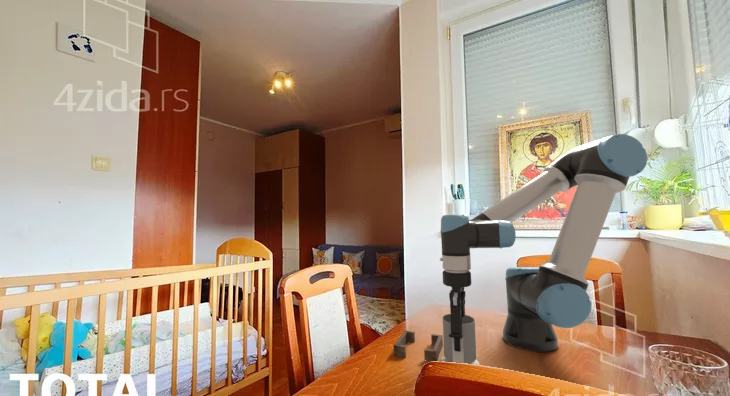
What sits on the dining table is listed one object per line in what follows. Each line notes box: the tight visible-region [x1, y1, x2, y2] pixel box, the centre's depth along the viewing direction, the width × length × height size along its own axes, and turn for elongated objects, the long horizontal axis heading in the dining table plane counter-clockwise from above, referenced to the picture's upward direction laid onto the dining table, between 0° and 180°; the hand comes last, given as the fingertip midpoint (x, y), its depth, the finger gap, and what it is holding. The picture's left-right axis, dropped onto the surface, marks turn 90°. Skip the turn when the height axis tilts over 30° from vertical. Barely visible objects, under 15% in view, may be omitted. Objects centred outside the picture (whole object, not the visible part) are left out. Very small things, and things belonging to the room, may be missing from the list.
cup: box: [442, 313, 477, 364], centre depth 81 cm, size 8×8×10 cm
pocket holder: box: [393, 330, 444, 363], centre depth 89 cm, size 12×12×3 cm
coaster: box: [440, 355, 481, 365], centre depth 81 cm, size 10×10×1 cm
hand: (460, 354), depth 81 cm, fingers closed on cup, 8 cm apart
